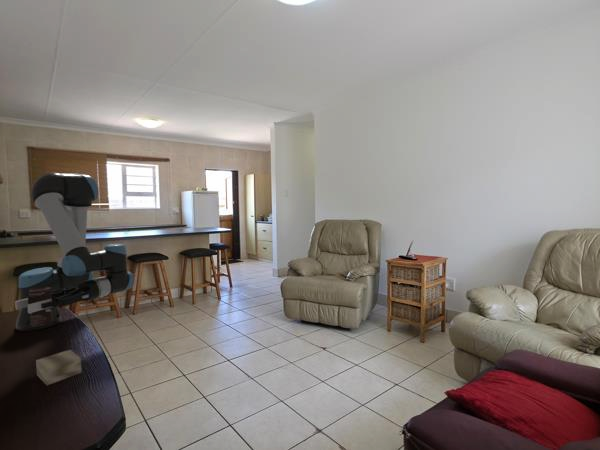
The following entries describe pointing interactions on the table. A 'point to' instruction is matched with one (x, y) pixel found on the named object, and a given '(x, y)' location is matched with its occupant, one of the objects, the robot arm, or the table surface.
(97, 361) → the table surface
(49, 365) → the ash block
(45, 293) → the box
